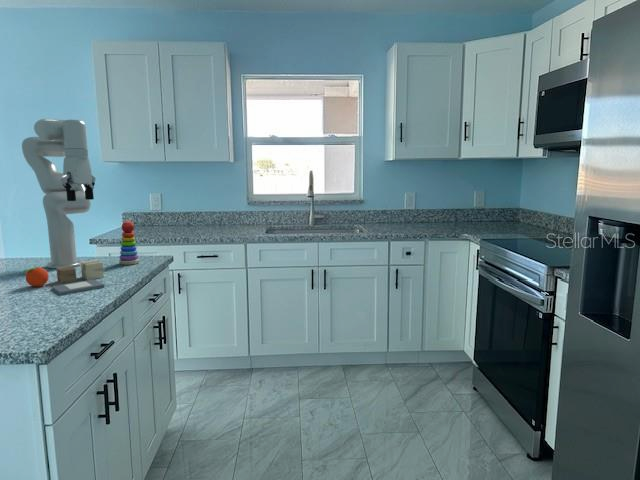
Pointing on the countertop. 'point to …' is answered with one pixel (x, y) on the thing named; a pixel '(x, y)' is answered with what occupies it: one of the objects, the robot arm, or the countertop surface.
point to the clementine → (36, 276)
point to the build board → (77, 287)
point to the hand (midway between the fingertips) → (80, 200)
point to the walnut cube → (66, 275)
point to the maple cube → (92, 269)
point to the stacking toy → (128, 245)
